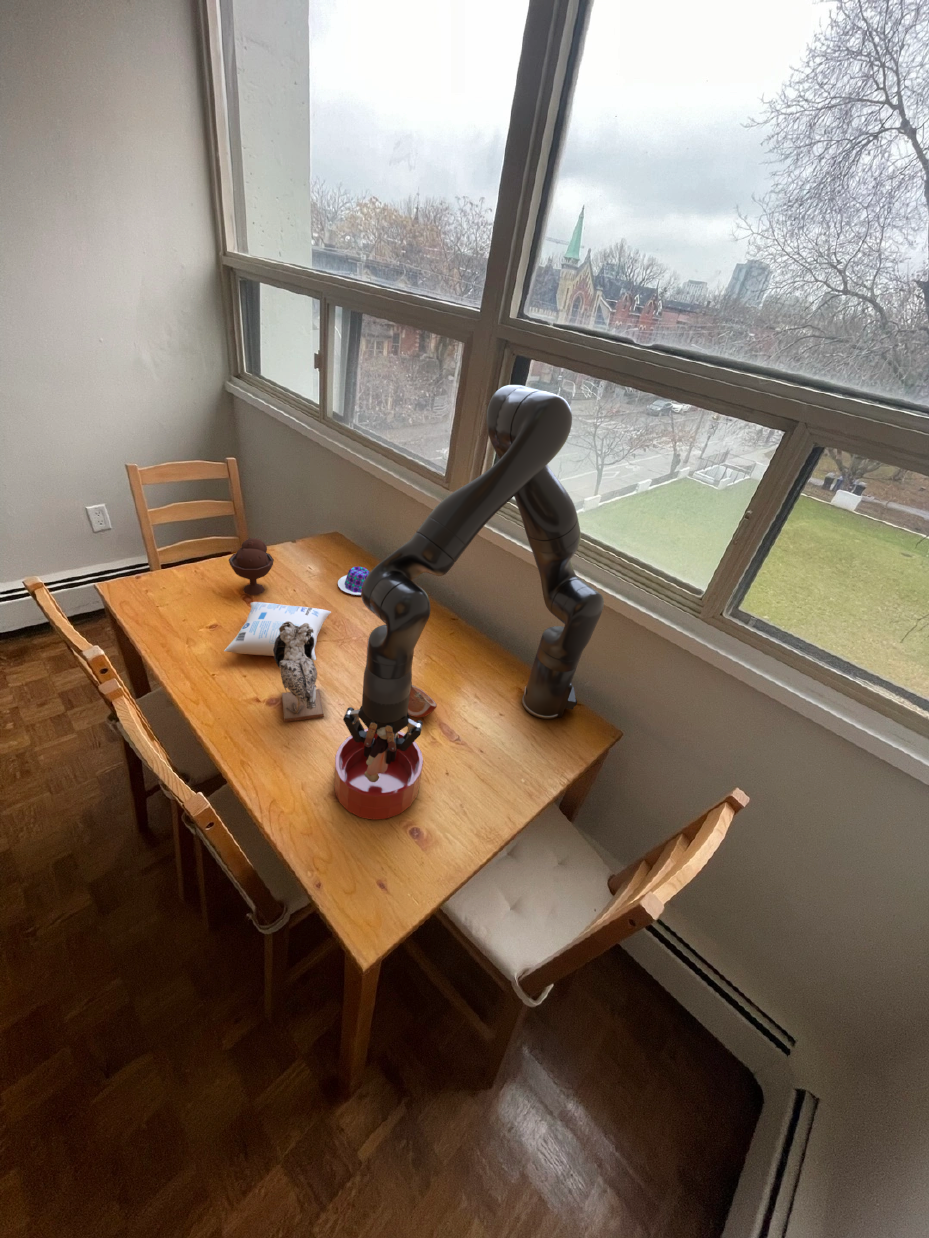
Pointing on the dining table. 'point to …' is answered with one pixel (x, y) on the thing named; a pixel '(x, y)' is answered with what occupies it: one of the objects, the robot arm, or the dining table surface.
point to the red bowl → (385, 793)
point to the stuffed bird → (297, 672)
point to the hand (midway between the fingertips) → (379, 758)
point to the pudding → (353, 580)
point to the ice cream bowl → (252, 564)
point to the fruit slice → (420, 703)
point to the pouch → (273, 627)
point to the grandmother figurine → (377, 757)
